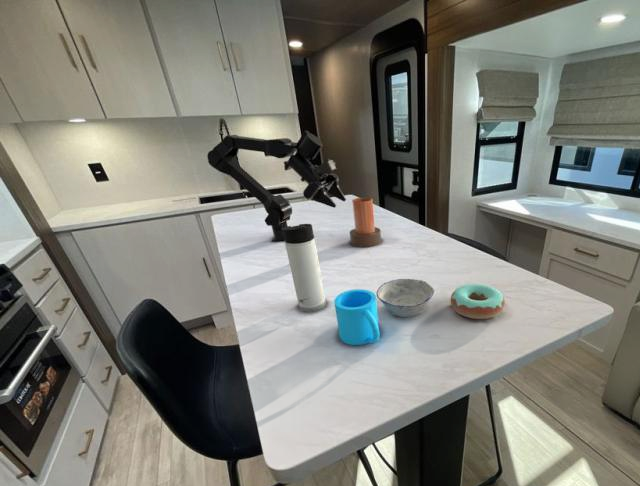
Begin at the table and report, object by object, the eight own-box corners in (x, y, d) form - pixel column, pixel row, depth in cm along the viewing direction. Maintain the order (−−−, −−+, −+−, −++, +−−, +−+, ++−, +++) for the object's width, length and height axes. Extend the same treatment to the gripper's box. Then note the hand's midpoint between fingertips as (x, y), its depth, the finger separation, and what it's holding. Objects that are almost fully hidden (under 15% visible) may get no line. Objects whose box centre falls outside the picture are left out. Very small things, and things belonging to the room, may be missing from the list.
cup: (352, 233, 112) (349, 201, 107) (360, 227, 118) (357, 197, 113) (370, 234, 110) (367, 202, 105) (377, 228, 116) (375, 197, 111)
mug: (333, 331, 67) (327, 297, 63) (366, 318, 71) (363, 285, 67) (360, 360, 59) (355, 324, 55) (396, 344, 63) (395, 308, 59)
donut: (447, 296, 79) (448, 281, 77) (496, 295, 78) (498, 280, 76) (453, 323, 68) (454, 307, 66) (509, 322, 68) (512, 306, 66)
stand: (351, 238, 120) (350, 227, 118) (380, 236, 121) (379, 225, 119) (350, 248, 111) (349, 237, 109) (382, 245, 112) (381, 234, 110)
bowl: (391, 291, 82) (390, 274, 79) (439, 299, 77) (440, 281, 75) (368, 317, 71) (366, 298, 69) (423, 328, 67) (423, 308, 65)
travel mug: (302, 315, 73) (284, 230, 63) (296, 303, 78) (278, 222, 68) (329, 308, 76) (315, 225, 66) (321, 296, 81) (307, 218, 71)
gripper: (305, 154, 96) (344, 192, 99) (330, 148, 112) (362, 181, 115) (287, 181, 101) (324, 216, 105) (313, 172, 117) (345, 203, 120)
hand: (340, 203), depth 111 cm, fingers open, 9 cm apart
